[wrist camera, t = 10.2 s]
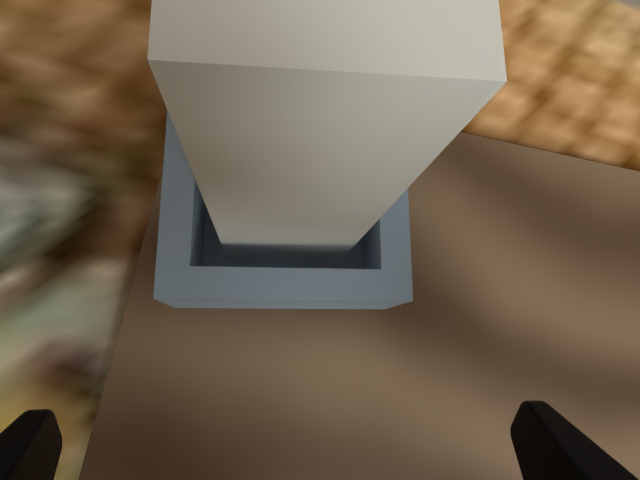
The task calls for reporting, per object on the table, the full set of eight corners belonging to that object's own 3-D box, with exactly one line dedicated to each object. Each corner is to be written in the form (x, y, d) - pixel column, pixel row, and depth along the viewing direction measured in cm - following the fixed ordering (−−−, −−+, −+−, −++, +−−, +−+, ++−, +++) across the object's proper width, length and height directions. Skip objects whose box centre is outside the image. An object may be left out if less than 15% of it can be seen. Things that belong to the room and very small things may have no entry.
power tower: (342, 258, 18) (506, 81, 6) (226, 256, 18) (146, 59, 5) (340, 146, 19) (477, -201, 7) (230, 142, 19) (171, -240, 6)
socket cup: (384, 309, 18) (413, 300, 15) (174, 307, 17) (153, 298, 14) (378, 121, 20) (402, 75, 17) (187, 111, 19) (171, 59, 16)
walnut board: (658, 594, 18) (675, 604, 17) (77, 509, 16) (68, 517, 16) (658, 184, 22) (672, 178, 21) (191, 82, 20) (188, 71, 20)
